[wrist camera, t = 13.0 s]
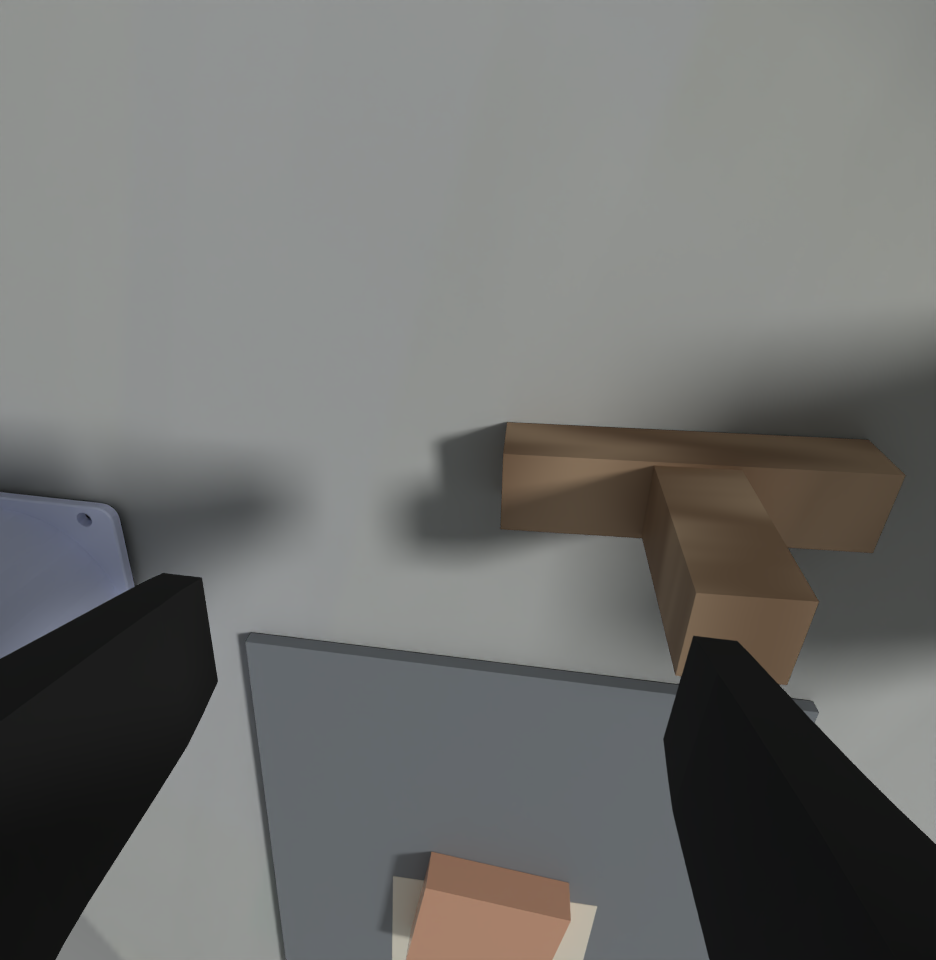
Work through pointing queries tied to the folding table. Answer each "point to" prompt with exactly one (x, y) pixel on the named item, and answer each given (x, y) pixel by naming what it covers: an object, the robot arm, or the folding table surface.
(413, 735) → the slate board
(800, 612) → the brown t-shaped block
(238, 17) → the folding table surface
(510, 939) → the tile
